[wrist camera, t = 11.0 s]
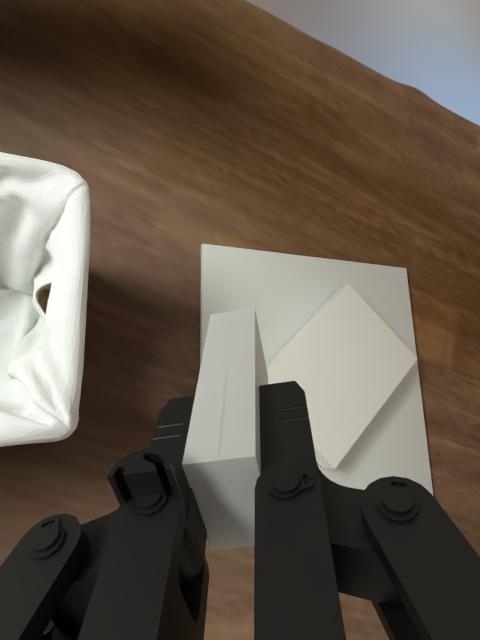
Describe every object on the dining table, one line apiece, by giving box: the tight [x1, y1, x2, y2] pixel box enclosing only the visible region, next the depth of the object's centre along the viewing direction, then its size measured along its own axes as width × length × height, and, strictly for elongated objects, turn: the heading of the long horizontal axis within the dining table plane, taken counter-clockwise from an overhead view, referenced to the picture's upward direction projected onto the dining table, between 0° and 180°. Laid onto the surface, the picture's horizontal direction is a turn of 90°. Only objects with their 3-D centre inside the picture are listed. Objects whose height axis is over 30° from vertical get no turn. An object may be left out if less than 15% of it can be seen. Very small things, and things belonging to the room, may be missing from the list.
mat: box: [200, 244, 433, 495], centre depth 42 cm, size 24×23×1 cm
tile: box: [266, 284, 418, 469], centre depth 41 cm, size 2×10×14 cm
